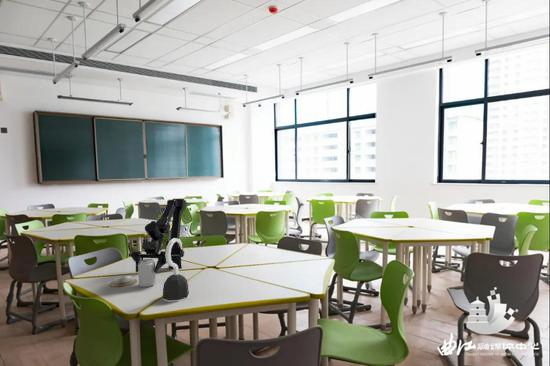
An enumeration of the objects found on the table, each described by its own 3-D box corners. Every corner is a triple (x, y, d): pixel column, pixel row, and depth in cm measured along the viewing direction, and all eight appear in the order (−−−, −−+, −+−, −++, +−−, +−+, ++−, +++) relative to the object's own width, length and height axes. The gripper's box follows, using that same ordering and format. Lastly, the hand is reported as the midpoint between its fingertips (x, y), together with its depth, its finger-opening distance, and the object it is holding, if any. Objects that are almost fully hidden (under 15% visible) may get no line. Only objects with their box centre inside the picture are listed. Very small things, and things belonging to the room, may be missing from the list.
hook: (172, 292, 155) (170, 235, 154) (194, 294, 152) (193, 236, 151) (156, 300, 144) (155, 240, 144) (179, 303, 141) (178, 241, 140)
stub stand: (137, 278, 177) (137, 273, 177) (136, 285, 165) (135, 280, 165) (111, 281, 173) (111, 276, 173) (108, 288, 162) (107, 283, 162)
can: (139, 289, 160) (139, 262, 160) (137, 284, 167) (137, 259, 166) (156, 286, 163) (156, 260, 163) (154, 282, 170) (153, 257, 170)
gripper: (131, 234, 170) (119, 262, 159) (168, 234, 168) (158, 263, 157) (140, 247, 178) (129, 275, 167) (175, 247, 175) (166, 275, 165)
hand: (145, 272), depth 164 cm, fingers open, 9 cm apart
